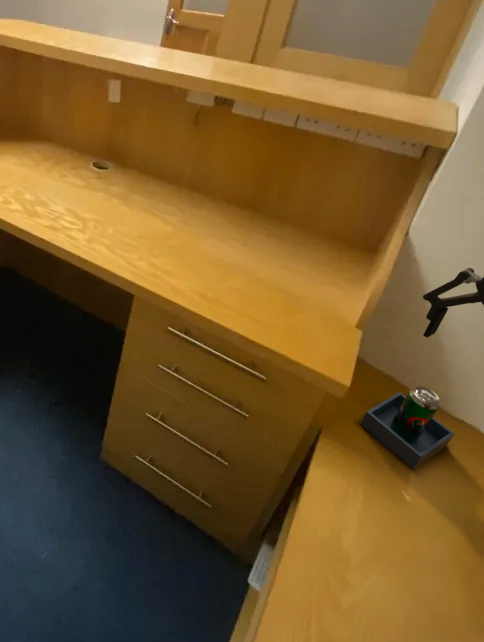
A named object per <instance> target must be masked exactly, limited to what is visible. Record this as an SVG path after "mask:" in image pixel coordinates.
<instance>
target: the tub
mask: <svg viewBox="0 0 484 642" xmlns="http://www.w3.org/2000/svg"><path fill="white" fill-rule="evenodd" d="M406 397H407V395H405V394H404V393H402V392H401V391H399V392H397V393H395V394H393V395H392V396H389V398H387V399H386V400H384V401H382V402H380V403H379V404H377V405H375V406H374V407H372V408H370V409H369V410H367V411H366V412H365V413H364V415H363V418H362V420H361V421H360V423H359V424H360V425H361V426H362V428H364V429H365V430H367V431H368V432H369V433H370V434H371V435H372V436H374V437H375V438H376V439H377V440H378V441H379V442H381V443H382V445H384V446H385V447H387V448H388V450H390V451H391V452H393V453H394V455H396V456H397V457H398V458H399V459H400V460H402V461H403V462H404V463H405V464H406V465H408V467H410V468H411V469H412V470H415V469H416V468H417V467H419V466H420V465H422V464H423V463H425V462H427V460H429V459H430V458H432V457H433V456H435V455H436V454H437V453H439V452H441V451H442V450H444V449H445V448H446V447H447V446H448V445H449V443H450V442H451V440H452V439H453V438H454V436H455V434H456V433H454V432H453V431H452V430H451V429H449V428H448V427H447V426H445V425H444V424H443V423H441V422H440V421H439V420H438V419H436V418H435V417H433V418H432V419H431V421H430V423H429V424H428V426H427V427H426V429H425V430H424V432H423V433H422V435H421V436H420V438H419V439H418V441H416V442H406V441H405V440H403V439H402V438H401V437H400V436H398V435H397V434H396V433H395V432H394V431H392V430H391V427H390V424H391V422H392V420H393V419H394V417H395V415H396V414H397V412H398V410H399V409H400V407H401V405H402V403H403V402H404V400H405V398H406Z"/></svg>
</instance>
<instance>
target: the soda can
mask: <svg viewBox="0 0 484 642" xmlns="http://www.w3.org/2000/svg"><path fill="white" fill-rule="evenodd" d="M440 407H441V404H440V397H439V395H438V394H436V393H435V391H433V390H431V389H430V388H427V387H425V386H415V387H414V388H412V389H409V392H408V393H407V395H406V398H405V400H404V402H403V403H402V405H401V407H400V409H399V410H398V412H397V414H396V415H395V417H394V419H393V420H392V422H391V424H390V427H391V430H392V431H394V432H395V433H396V434H397V435H398V436H400V437H401V438H402V439H403V440H405V441H406V442H416V441H418V439H419V438H420V436H421V435H422V433H423V432H424V430H425V429H426V427H427V426H428V424H429V423H430V421H431V419H432V418H434V417H435V415H436V413H437V412H438V410H439V409H440Z"/></svg>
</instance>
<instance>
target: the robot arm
mask: <svg viewBox="0 0 484 642" xmlns="http://www.w3.org/2000/svg"><path fill="white" fill-rule="evenodd" d="M471 283H474V284H475V288H476V291H475V292H470V293H464V294H460V295H454V296H449V297H441V298H440V297H439V296H440V295H443V294H444V293H447V292H449V291H450V290H453V289H455V288H457V287H458V286H461V285H462V284H467V285H469V284H471ZM422 298H423V299H422V300H424V301H427V302H428V303H430V308H429V310H428V312H427V314H426V316H425V317H426V320H428V321H429V323H428V325H427V326H426V328H425V331H424V333H423V334H422V335H423V337H425V338H429V337H431V336H433V335H435V334H436V332H437V331H438V329H439V327H440V325H441V324H442V321H443V320H444V318H445V316H446V314H447V313H448V311H449V309H450V307H456V306H462V305H468V304H477V303H481V304H482V305H483V306H484V276H482V277H481V276H479V275H478V274H476V273H475V270H474V268H472V267H467V268H465V269H463V270H462V271H460V272H459V273H458V274H457V275H456V277H455V278H453V279H452V280H450V281H447V282H446V283H445V284H443V285H440V286H439V287H437V288H434V289H432V290H431V291H429V292H427V293H425V294H423V295H422Z"/></svg>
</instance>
